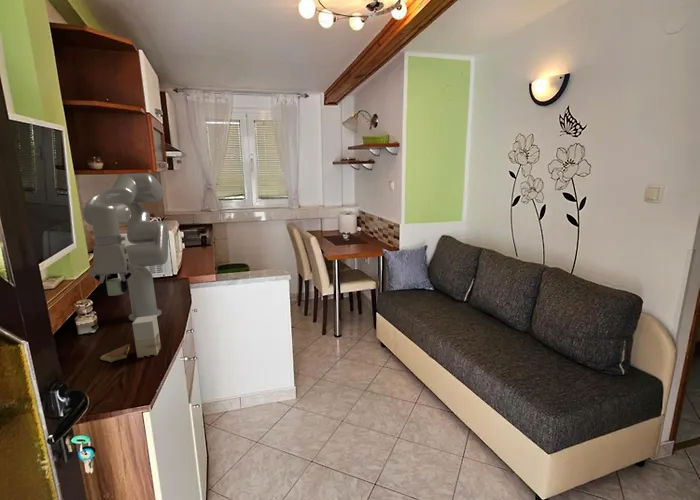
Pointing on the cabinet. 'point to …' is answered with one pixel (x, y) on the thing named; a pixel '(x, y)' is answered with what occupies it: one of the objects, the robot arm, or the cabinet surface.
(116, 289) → the green cylinder
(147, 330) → the tower top
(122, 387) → the cabinet surface
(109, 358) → the shard
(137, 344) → the tower base
